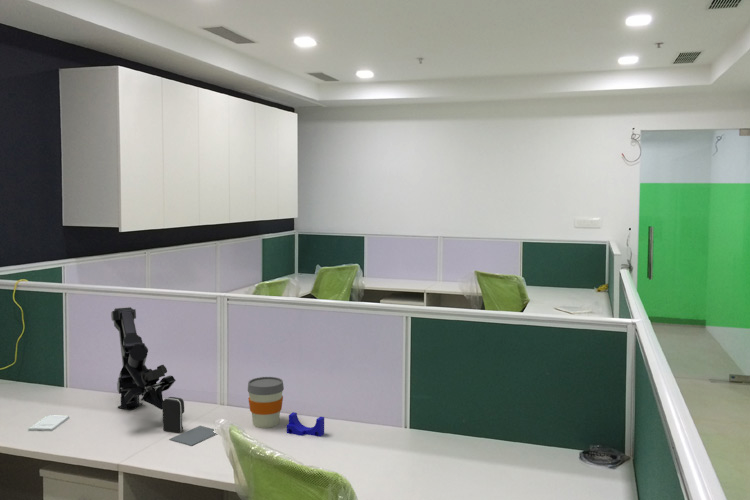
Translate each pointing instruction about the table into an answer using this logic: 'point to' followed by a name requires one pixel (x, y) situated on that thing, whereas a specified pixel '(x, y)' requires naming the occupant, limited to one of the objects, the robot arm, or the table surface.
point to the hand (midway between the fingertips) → (162, 408)
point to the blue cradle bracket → (300, 429)
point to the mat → (194, 435)
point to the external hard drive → (49, 423)
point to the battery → (172, 414)
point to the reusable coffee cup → (265, 400)
